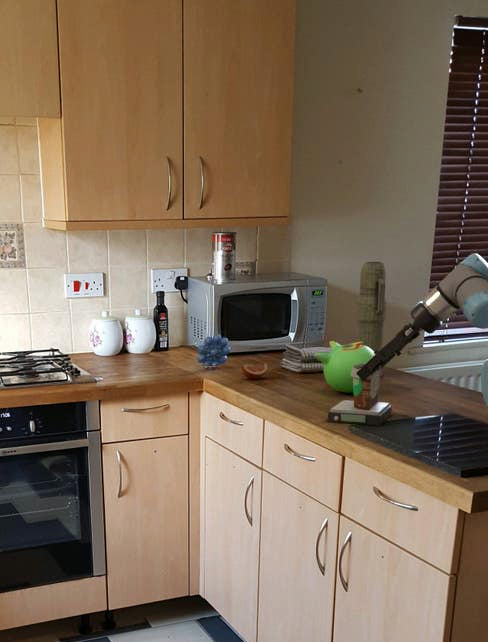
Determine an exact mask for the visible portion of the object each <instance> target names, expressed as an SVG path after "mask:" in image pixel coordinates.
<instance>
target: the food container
mask: <svg viewBox="0 0 488 642" xmlns="http://www.w3.org/2000/svg"><path fill="white" fill-rule="evenodd" d="M364 365H365V364H358V365H355V366H353V368H352V370H351V374H350V375H351V376H352V377H353V392H354V393H353V401H354V407H355V408H357V409H361V410H369V411H370V410H371V409H372V408H373V407H374V406H376V405H377V404H378V402H379V394H380V381H381V377H380V371H381V366H380V367H379V368H378V369H376V370H375V371H374V372H373V373H372V374H371V375H370V376H369V377H368V378H367V379H366V380H365V381H362V380H361V378H360V377H359V376H358V375H357V374H356V373H357V372H358V371H359V370H360V369H361V368H362V367H363V366H364Z"/></svg>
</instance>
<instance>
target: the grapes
mask: <svg viewBox="0 0 488 642" xmlns="http://www.w3.org/2000/svg"><path fill="white" fill-rule="evenodd" d="M228 344H229V339H228V338H227V337H222V336H221V334H220V333H216V334H214V335H213V336H212V337H211V336H206V337H205V338H204V341H203V344H201V345H199V346H198V348H197V352H198V354H199V355H198V356H197V359H196V360H197V363H199V364H201V365H202V368H203V369H204V370H208V369H210V368H211V370H217V369H218V368H219V366H220V365H223V364H225V363H226V362H227V360H228V358H227V355H228V354H230V352H231V347H230V346H229V345H228ZM203 366H210V367H207V368H205V367H203ZM211 366H218V367H211Z"/></svg>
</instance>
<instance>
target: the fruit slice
mask: <svg viewBox="0 0 488 642" xmlns="http://www.w3.org/2000/svg"><path fill="white" fill-rule="evenodd" d="M268 369H269V367H268V363H267V362H264V363H258V364H256V363H244V364H242V365H241V372H242V374H243V376H245V377H246V378H248V379H250V380H258V379H260V378H262V377H263V376H264V375H265V374H266V373H267V371H268Z"/></svg>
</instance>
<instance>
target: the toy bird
mask: <svg viewBox="0 0 488 642" xmlns="http://www.w3.org/2000/svg"><path fill="white" fill-rule="evenodd" d="M362 343H363V342H357V341H356V342H352V343H345V344H342V345H341V344H339V343H338V342H336V341H334V340H331V341H329V348H331V350H332V351H331V352H330V353H315V355H314V356H315V357H316V358H317V359H318V360H320V361H321V362H323V363H324V371H323V376H324V379H325V381H326V383H327V384H328V385H329V386H330V387H331V388H332V389H333V390H336V391H337V392H341V393H345V394H354V392H353V377H352V376H351V375H350V374H351V370H352V368H353V366H355V365H358V364H366V363H367V362H368V361H369V360H370V359H371V358H373V357H374V356H375V354H374V351H373V350H372V349H370V348H369V347H367V346H364V345H361V344H362Z"/></svg>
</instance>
